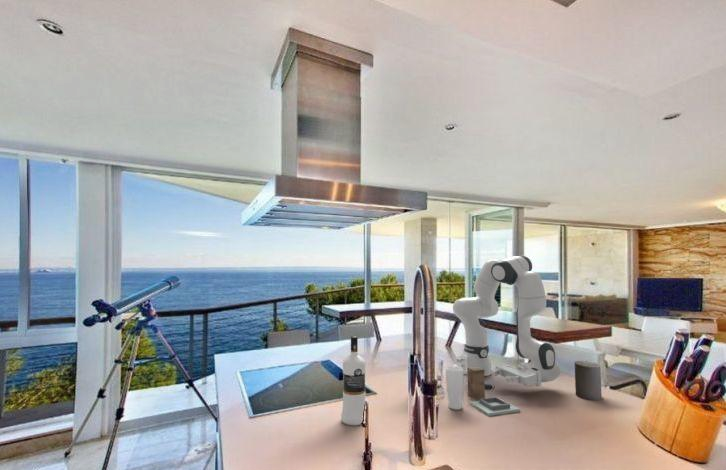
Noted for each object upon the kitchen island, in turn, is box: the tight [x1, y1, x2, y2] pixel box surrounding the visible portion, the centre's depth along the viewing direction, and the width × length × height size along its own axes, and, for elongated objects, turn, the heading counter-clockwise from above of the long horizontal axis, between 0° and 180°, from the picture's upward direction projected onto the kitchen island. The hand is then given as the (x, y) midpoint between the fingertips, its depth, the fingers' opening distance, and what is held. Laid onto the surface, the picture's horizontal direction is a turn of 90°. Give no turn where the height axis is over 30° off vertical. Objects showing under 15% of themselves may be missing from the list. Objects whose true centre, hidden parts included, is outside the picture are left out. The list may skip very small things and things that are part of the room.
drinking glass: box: [445, 365, 465, 411], centre depth 144 cm, size 7×7×15 cm
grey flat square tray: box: [469, 396, 521, 417], centre depth 143 cm, size 12×14×2 cm
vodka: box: [340, 335, 366, 427], centre depth 132 cm, size 9×9×30 cm
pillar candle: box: [574, 360, 603, 401], centre depth 156 cm, size 10×10×15 cm
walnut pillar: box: [466, 367, 486, 401], centre depth 155 cm, size 5×5×12 cm
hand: (500, 376), depth 158 cm, fingers open, 8 cm apart
